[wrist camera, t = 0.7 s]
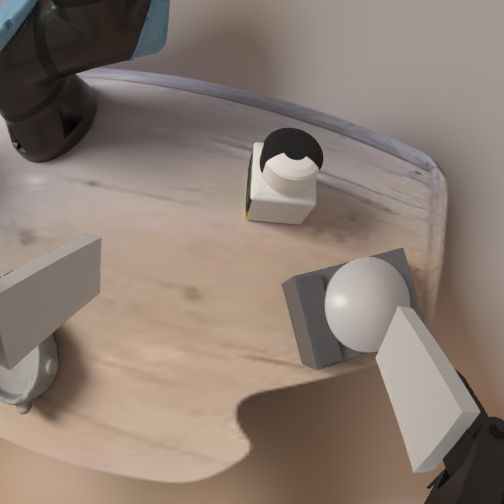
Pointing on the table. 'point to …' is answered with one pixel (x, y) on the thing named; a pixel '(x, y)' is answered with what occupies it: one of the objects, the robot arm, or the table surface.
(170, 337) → the table surface
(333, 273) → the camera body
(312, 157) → the medicine bottle
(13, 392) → the dish
